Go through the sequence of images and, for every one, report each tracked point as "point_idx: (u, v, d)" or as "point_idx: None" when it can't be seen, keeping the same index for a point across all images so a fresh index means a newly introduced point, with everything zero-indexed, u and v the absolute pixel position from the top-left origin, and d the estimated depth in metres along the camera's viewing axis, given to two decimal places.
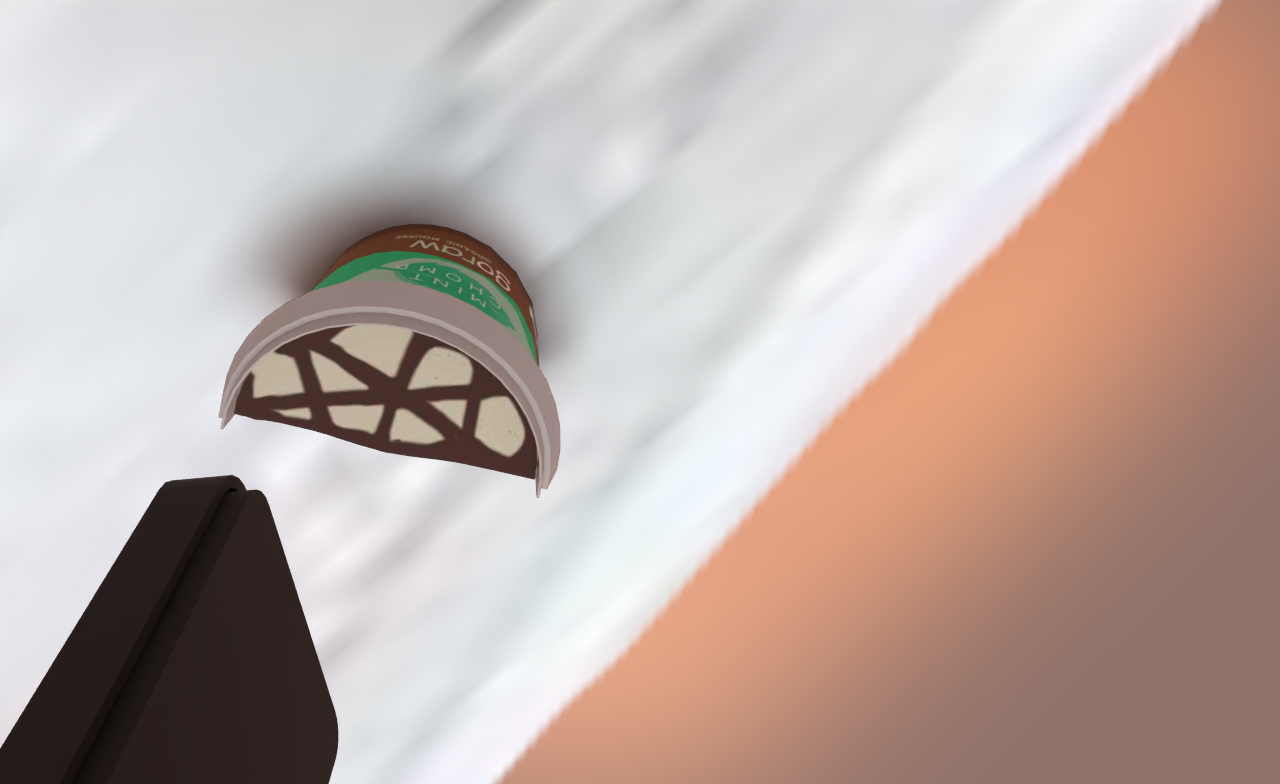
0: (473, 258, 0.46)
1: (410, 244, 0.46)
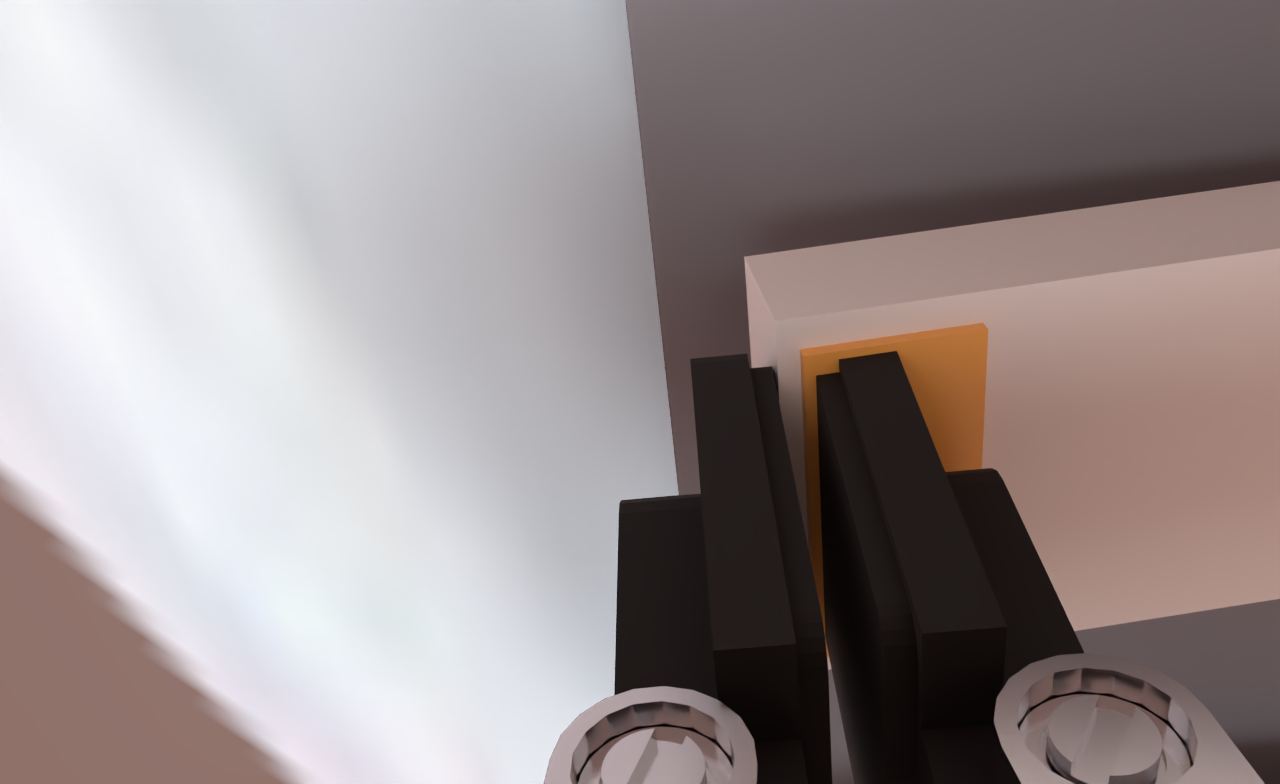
0: None
1: None
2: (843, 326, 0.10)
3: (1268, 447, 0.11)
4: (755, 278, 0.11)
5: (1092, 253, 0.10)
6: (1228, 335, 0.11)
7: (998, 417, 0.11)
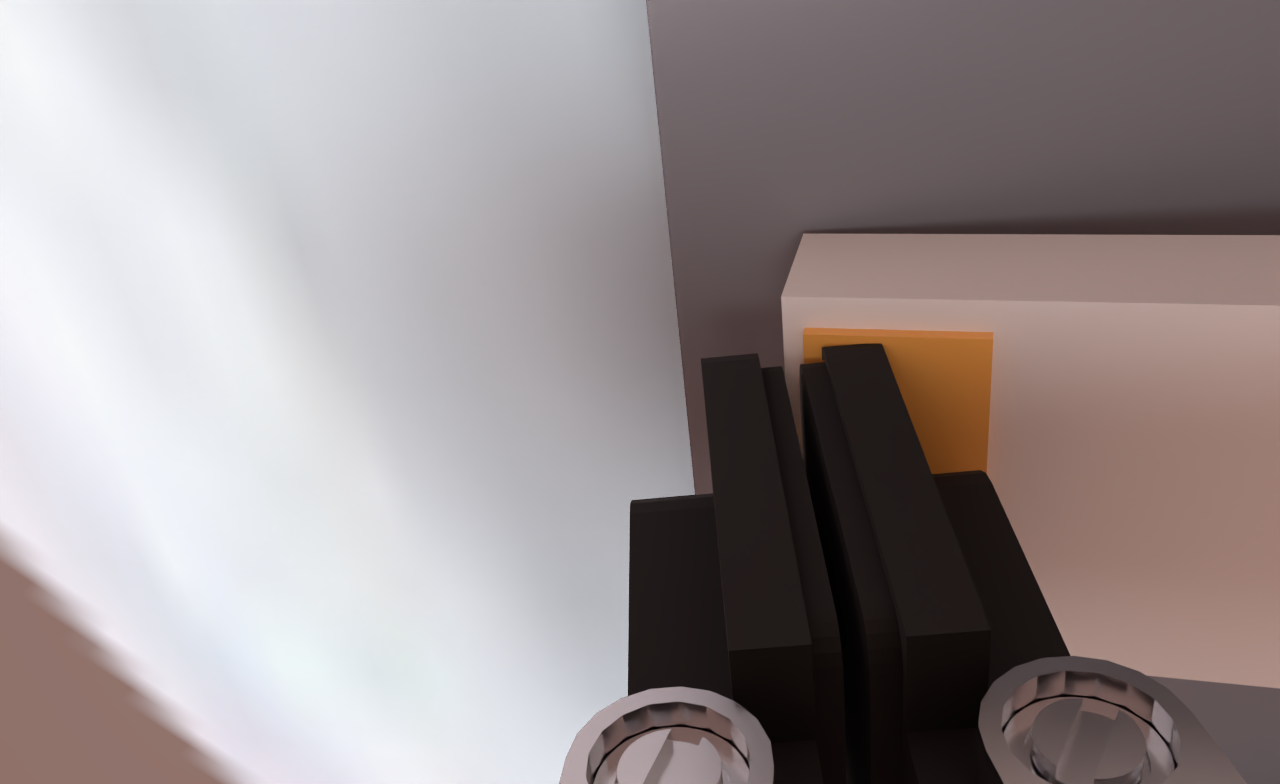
0: None
1: None
2: (848, 312, 0.10)
3: None
4: (797, 254, 0.11)
5: (1135, 281, 0.10)
6: (1276, 393, 0.10)
7: (1011, 432, 0.10)
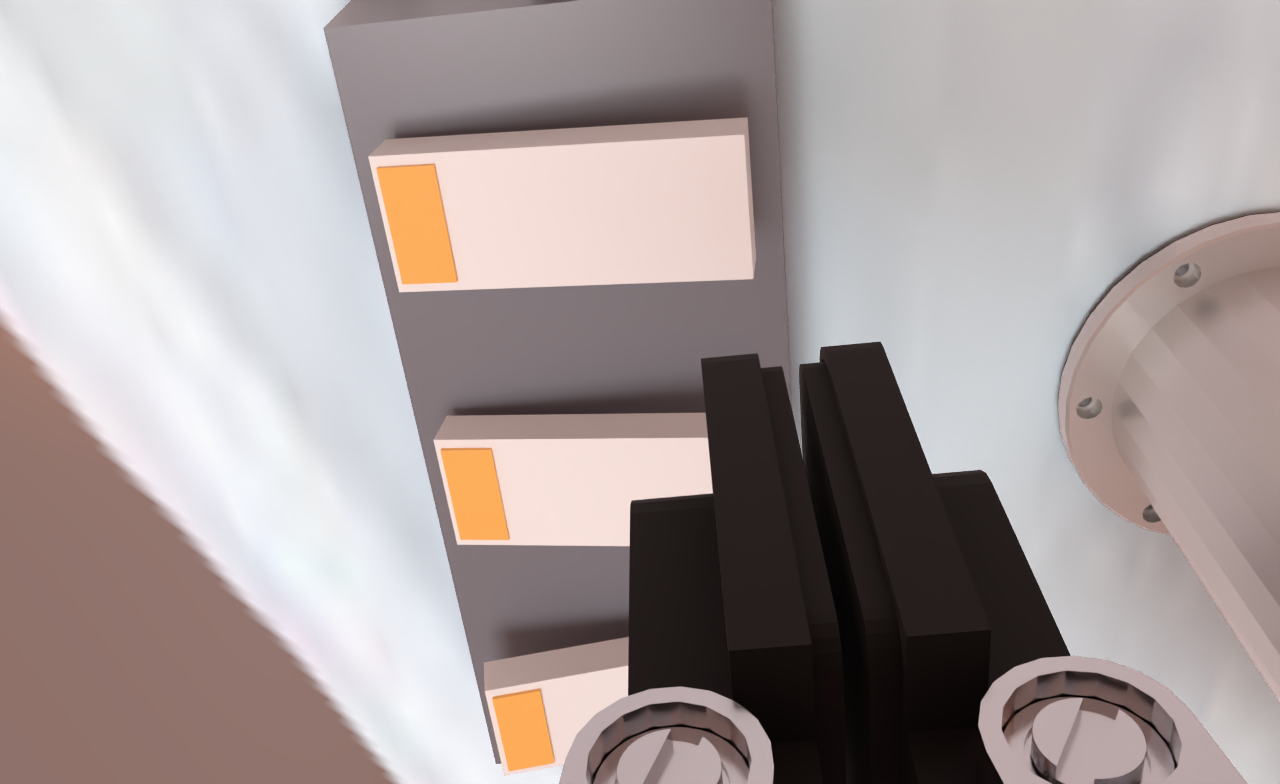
0: None
1: None
2: (452, 443, 0.36)
3: (590, 495, 0.36)
4: (442, 424, 0.37)
5: (529, 431, 0.36)
6: (566, 461, 0.36)
7: (503, 475, 0.36)
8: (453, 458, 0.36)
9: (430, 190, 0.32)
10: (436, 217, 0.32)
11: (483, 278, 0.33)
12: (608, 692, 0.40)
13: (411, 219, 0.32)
